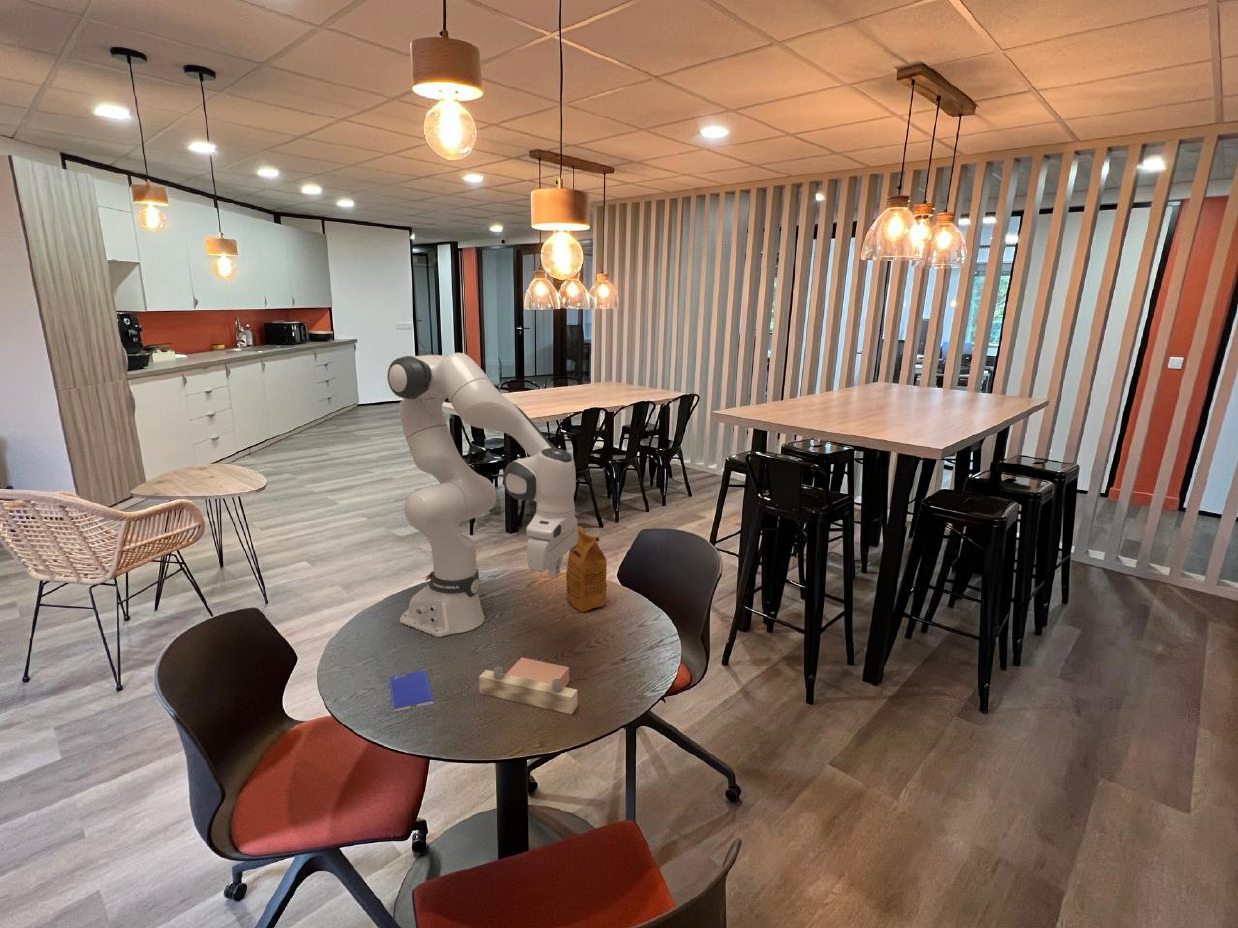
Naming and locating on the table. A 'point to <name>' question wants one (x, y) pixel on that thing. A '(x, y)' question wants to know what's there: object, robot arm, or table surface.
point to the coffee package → (586, 573)
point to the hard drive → (410, 690)
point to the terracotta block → (540, 671)
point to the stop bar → (528, 691)
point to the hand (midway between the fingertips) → (554, 574)
